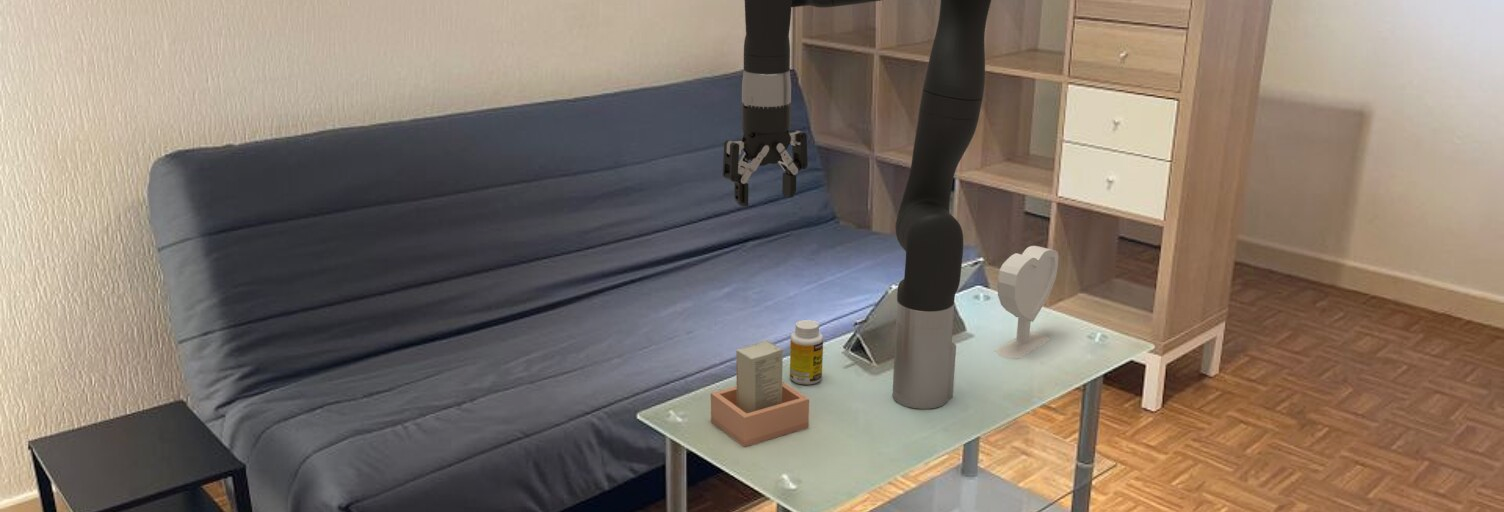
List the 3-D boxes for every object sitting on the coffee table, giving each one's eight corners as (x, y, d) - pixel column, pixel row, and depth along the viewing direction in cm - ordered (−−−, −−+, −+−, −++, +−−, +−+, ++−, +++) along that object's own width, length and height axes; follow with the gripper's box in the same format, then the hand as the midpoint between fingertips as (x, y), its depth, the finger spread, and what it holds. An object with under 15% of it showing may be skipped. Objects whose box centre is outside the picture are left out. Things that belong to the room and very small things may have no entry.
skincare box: (766, 408, 200) (767, 339, 196) (783, 419, 197) (784, 348, 193) (734, 419, 197) (734, 348, 193) (751, 429, 193) (751, 358, 189)
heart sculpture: (1012, 362, 220) (1020, 266, 214) (988, 354, 223) (995, 260, 217) (1055, 336, 231) (1063, 245, 225) (1031, 329, 234) (1039, 239, 228)
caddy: (773, 403, 204) (773, 376, 202) (808, 427, 196) (809, 399, 195) (710, 421, 198) (710, 393, 196) (744, 447, 190) (744, 417, 188)
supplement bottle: (815, 388, 210) (816, 332, 206) (784, 382, 212) (785, 327, 208) (826, 375, 215) (828, 320, 211) (796, 369, 217) (797, 315, 213)
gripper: (791, 89, 196) (789, 188, 202) (713, 100, 189) (714, 201, 194) (818, 98, 190) (816, 199, 196) (740, 109, 183) (739, 214, 188)
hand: (765, 200), depth 195 cm, fingers open, 8 cm apart
